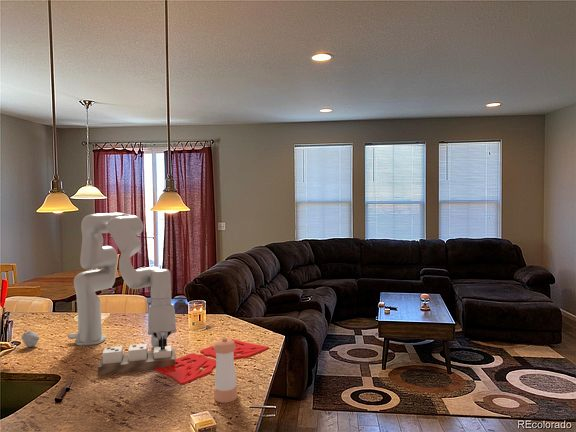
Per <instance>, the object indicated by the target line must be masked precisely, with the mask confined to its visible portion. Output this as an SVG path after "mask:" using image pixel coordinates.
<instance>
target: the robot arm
mask: <svg viewBox="0 0 576 432" xmlns="http://www.w3.org/2000/svg"><path fill="white" fill-rule="evenodd" d="M80 229H81V235H82V237H81V239H82V241H81V247H80V248H81V249H80V257H79V258H80V267H81V268H82V269H84V271H81V272H80V273H78V274H76V275H75V277H74V278H73V285H74V290H75V295H76V308H77V310H76V311H77V329H78V331H77V332H76V333H68V334H67V339H69V340H74V344H75V345H76V346H80V347H81V346H82V347H83V346H93V345H98V344H101V343H103V342H104V341H106V339H107V338H106V335H104V334H103V332H102V330H103V329H102V308H101V307H102V306H101V299H100V297H99V296H98V295H97V294H96V292H98V291H104V290H107V289H110V288H112V287H114V284H115V282H116V275H117V269H118V268H119V274H120V275H121V277H122V279H123V281H124V283H125V284H126V285H127V286H128V288H129V289H131V290H138V289H139V290H140V289H143V288H148V287H150V298H149V299H147V300H146V303H147V304H150V305H149V306H148V311H147V312H148V313H147V329H148V331H147V335H149V336H152V335H154V336H155V337H156V338H158V340H159V347H161V350H162V349H165V346H168V337H169V336H171V334H175V333H176V332H178V331H177V330H178V329H177V327H176V326H177V325H176V324H177V323H176V322H177V320H176V311H175V306H174V303H172V282H171V281H172V280H171V271H170V270H169V268H168V269H167V268H159V267H157V266H148V267H142V268H136V269H135V268H134V266H133V265H132V262H131V259H130V258H131V257H133V256H135V254H137V253H138V252H139V251H140V250H141V248H142V243H141V241H140V238H139V237H138V235H140V234H141V233H142V232H144V231H143V230H144V223H143V221H142V219H141V218H140V217H139V216H137V215H135V214H128V213H125V212H124V213H123V212H109V213H108V212H105V213H104V212H103V213H91V214H87V215H86V216H84V217H83V218H82V220H81V225H80ZM102 234H110V235H111V238H112V239H113V241H114V242H115V244H116V246H117V248H118V250H119V252H120V256H119V260H118V253H117V250H116V249H115V248H114V247H113V246H110V245H104V237H103V235H102ZM85 270H86V271H85ZM160 332H164V336H163V340H162V336H161V333H160Z"/></svg>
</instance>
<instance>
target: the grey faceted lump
mask: <svg viewBox="0 0 576 432" xmlns="http://www.w3.org/2000/svg"><path fill="white" fill-rule="evenodd" d="M39 338H40V337H39V335H38V334H37V333H36V332H34V331H32V330H26V331H25V332H24V333H23V334H22V335H21V340H22V342H23V343H24V345H25V347H27V348H33V347H35V346H36V345H38V342H39V340H40V339H39Z"/></svg>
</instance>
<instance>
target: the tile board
mask: <svg viewBox="0 0 576 432" xmlns="http://www.w3.org/2000/svg"><path fill="white" fill-rule="evenodd" d="M147 352H148V357H147V360H139V361H129V357H128V352H127V353H123V361H122V362H119V363H110V364H103V356H101V359H100V360H99V363H98V366H97V376H105V375H112V374H113V375H114V374H123V373H130V372H131V373H132V372H141V371H142V372H143V371H150V370H155V367H162V368H165V369H167V368H166V366H173V365H176V364H175V359H176V349H175V348H171V357H168V358H158V359H154V350H147Z"/></svg>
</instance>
